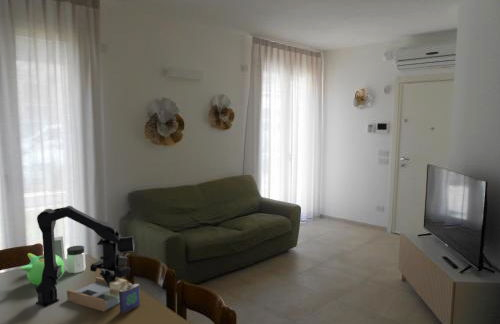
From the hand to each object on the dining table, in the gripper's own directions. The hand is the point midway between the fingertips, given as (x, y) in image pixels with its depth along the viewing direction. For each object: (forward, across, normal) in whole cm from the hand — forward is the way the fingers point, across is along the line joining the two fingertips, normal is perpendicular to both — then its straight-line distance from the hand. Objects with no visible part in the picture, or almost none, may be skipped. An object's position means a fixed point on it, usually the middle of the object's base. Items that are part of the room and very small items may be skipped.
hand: (111, 287), depth 163 cm
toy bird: (+4, +39, +4) cm, 39 cm away
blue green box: (+4, -16, +5) cm, 17 cm away
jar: (+4, +40, -14) cm, 42 cm away
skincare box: (+4, +54, -12) cm, 55 cm away
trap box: (+4, +3, +4) cm, 6 cm away
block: (+1, -5, 0) cm, 5 cm away
